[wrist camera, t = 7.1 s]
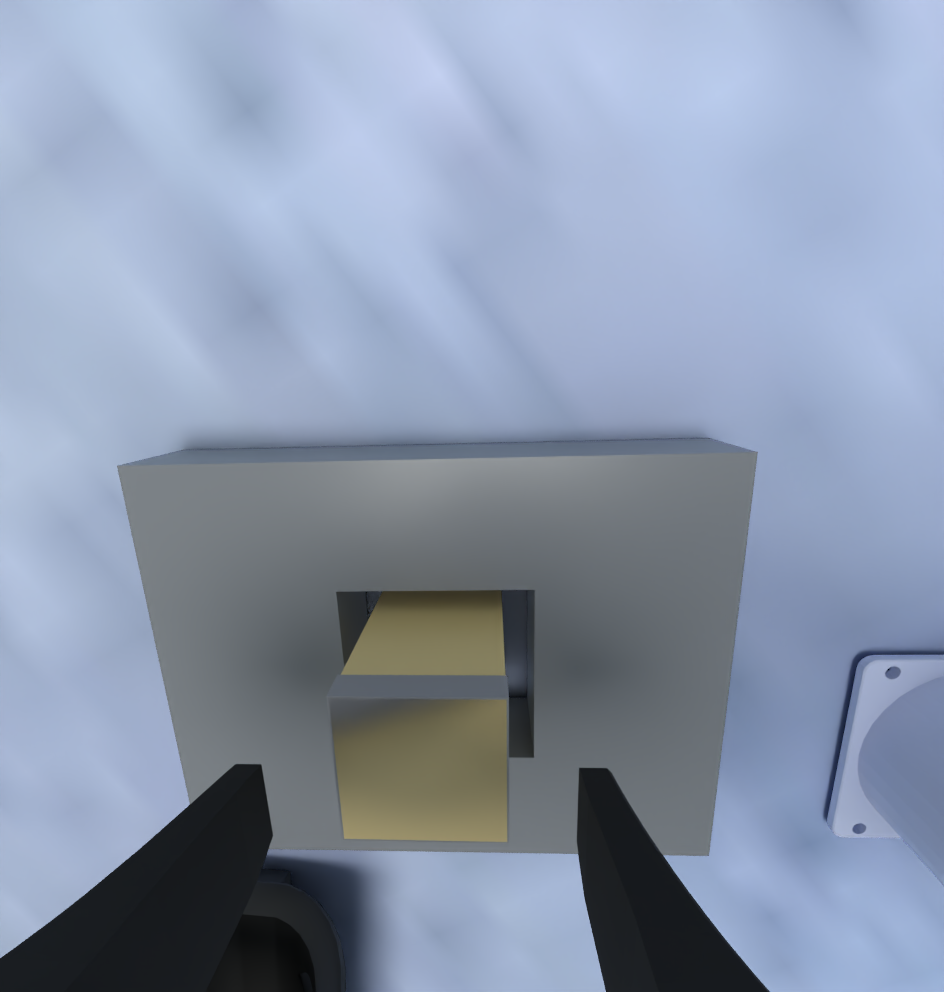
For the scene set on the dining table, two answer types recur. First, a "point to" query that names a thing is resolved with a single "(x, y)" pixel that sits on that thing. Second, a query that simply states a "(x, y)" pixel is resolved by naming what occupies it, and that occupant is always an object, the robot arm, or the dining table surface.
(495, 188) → the dining table surface
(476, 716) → the plug
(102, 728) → the dining table surface
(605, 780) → the robot arm
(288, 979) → the muzzle brake
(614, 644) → the socket plate
